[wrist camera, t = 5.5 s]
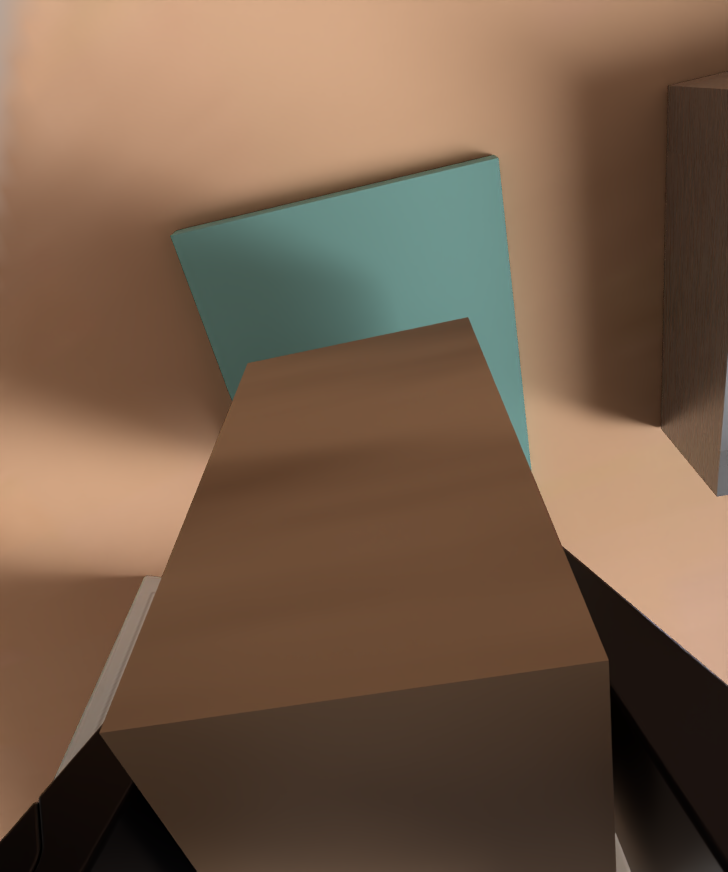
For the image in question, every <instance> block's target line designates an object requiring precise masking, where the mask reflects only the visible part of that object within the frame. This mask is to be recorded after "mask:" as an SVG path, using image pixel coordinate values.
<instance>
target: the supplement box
mask: <svg viewBox="0 0 728 872" xmlns="http://www.w3.org/2000/svg"><path fill="white" fill-rule="evenodd" d="M161 578H162V577H155V576H145V577H144V578H143V581H142V583H141V585H140V588H139V590H138V592H137V594H136V597H135V599H134V601H133V603H132V606H131V608H130V610H129V612H128V614H127V617H126V619H125V621H124V623H123V626H122V628H121V630H120V632H119V635H118V637H117V639H116V641H115V643H114V646H113V648H112V650H111V652H110V655H109V657H108V659H107V661H106V664H105V666H104V668H103V670H102V672H101V675H100V677H99V679H98V681H97V684H96V686H95V688H94V690H93V693H92V695H91V697H90V699H89V701H88V704H87V706H86V708H85V710H84V713H83V715H82V717H81V719H80V722H79V724H78V726H77V728H76V731H75V733H74V735H73V737H72V740H71V742H70V744H69V746H68V749H67V751H66V753H65V755H64V758H63V760H62V762H61V764H60V767H59V769H58V771H57V773H56V776H55V778H56V777H57V776H58V775H59V773H60V772H61V771H62V770H63V769H64V768H65V767H66V765H67V764H68V763H69V762H70V761H71V760H72V758H73V757H74V756H75V755H76V754H77V753H78V751H79V750H80V749H81V748H82V747H83V746H84V745H85V743H86V742H87V741H88V740H89V739H90V738H91V736H92V735H93V734H94V733H95V732H96V731H97V729H98V728H99V727H100V726H101V725H102V724H103V722H104V720H105V717H106V715H107V712H108V710H109V707H110V705H111V702H112V700H113V697H114V695H115V692H116V690H117V687H118V685H119V682H120V680H121V677H122V675H123V673H124V670H125V668H126V665H127V663H128V660H129V658H130V655H131V653H132V650H133V648H134V645H135V643H136V640H137V638H138V635H139V633H140V630H141V628H142V625H143V623H144V620H145V618H146V615H147V613H148V610H149V608H150V605H151V603H152V600H153V598H154V595H155V593H156V590H157V588H158V585H159V583H160V580H161ZM55 778H54V779H55ZM615 848H616V872H631V870H630V868H629V865H628V863H627V860H626V858H625V855H624V853H623V850H622V848H621V845H620V843H619V840H618V838H617V835H616V833H615Z"/></svg>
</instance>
